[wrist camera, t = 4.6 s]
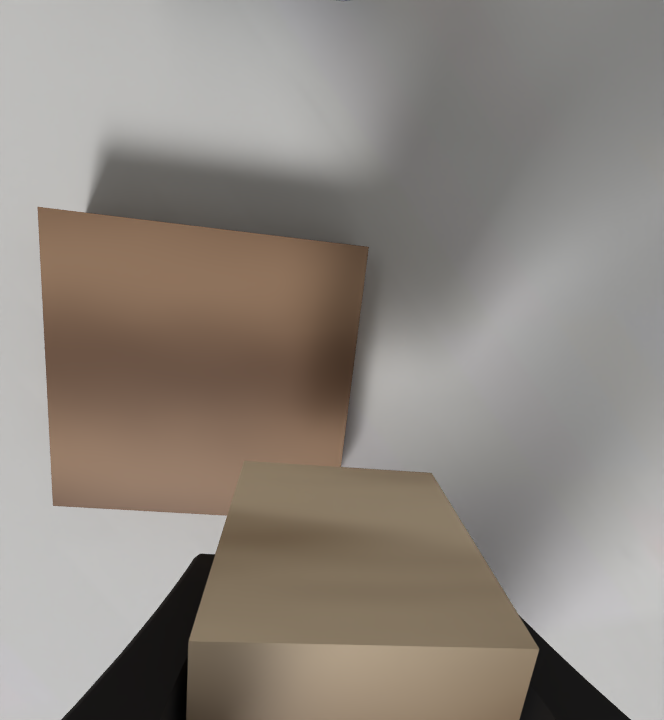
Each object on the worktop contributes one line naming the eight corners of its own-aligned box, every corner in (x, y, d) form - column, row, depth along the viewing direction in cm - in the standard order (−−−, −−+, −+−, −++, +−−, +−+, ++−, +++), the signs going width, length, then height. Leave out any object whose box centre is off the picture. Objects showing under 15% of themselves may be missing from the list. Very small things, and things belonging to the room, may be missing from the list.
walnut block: (328, 479, 18) (333, 521, 15) (97, 464, 17) (53, 505, 14) (356, 251, 15) (368, 247, 12) (91, 219, 15) (37, 206, 12)
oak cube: (404, 623, 11) (474, 878, 6) (234, 618, 10) (181, 887, 6) (431, 472, 10) (539, 649, 5) (243, 460, 9) (189, 641, 5)
